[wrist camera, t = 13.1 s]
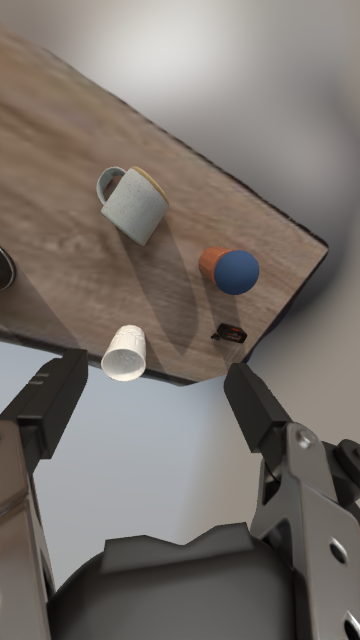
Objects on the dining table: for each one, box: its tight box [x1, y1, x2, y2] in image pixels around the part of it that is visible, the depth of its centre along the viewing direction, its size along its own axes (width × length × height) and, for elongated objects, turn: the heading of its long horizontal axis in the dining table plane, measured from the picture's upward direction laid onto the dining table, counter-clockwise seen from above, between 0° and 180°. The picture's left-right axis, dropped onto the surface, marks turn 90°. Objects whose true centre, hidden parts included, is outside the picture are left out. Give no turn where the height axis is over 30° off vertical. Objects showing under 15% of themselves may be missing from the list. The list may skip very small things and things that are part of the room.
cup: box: [199, 247, 235, 286], centre depth 31 cm, size 6×6×9 cm
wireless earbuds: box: [211, 323, 247, 343], centre depth 42 cm, size 5×7×3 cm, turn 70°
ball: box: [214, 250, 259, 295], centre depth 25 cm, size 6×6×6 cm
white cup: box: [101, 325, 146, 381], centre depth 36 cm, size 8×8×10 cm
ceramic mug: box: [97, 167, 169, 246], centre depth 26 cm, size 11×8×8 cm
